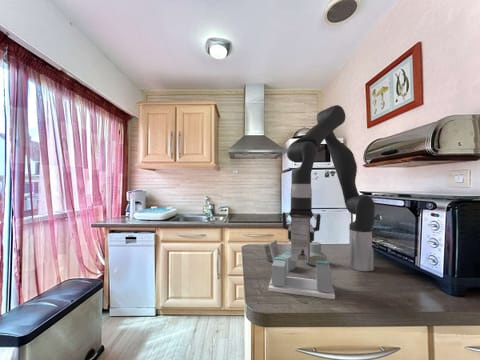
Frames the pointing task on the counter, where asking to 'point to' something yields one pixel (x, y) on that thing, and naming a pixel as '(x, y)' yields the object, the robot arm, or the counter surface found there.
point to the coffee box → (300, 238)
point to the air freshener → (316, 253)
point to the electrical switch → (272, 250)
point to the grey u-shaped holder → (302, 280)
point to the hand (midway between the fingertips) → (300, 241)
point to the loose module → (289, 261)
